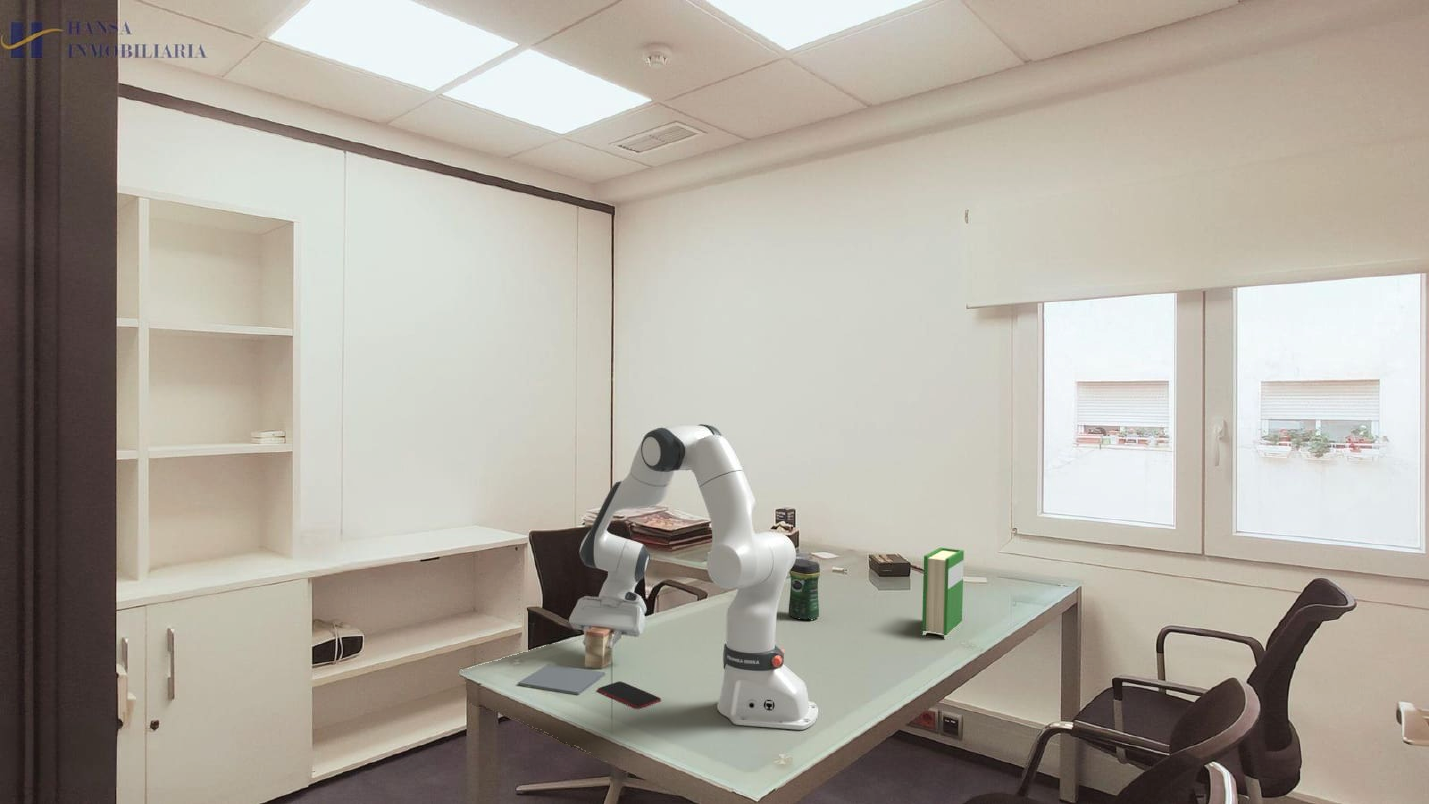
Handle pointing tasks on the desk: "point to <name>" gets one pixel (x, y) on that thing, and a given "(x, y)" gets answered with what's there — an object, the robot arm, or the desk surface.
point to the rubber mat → (562, 679)
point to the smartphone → (629, 694)
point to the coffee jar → (804, 589)
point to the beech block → (597, 647)
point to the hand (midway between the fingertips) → (597, 646)
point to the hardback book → (942, 590)
